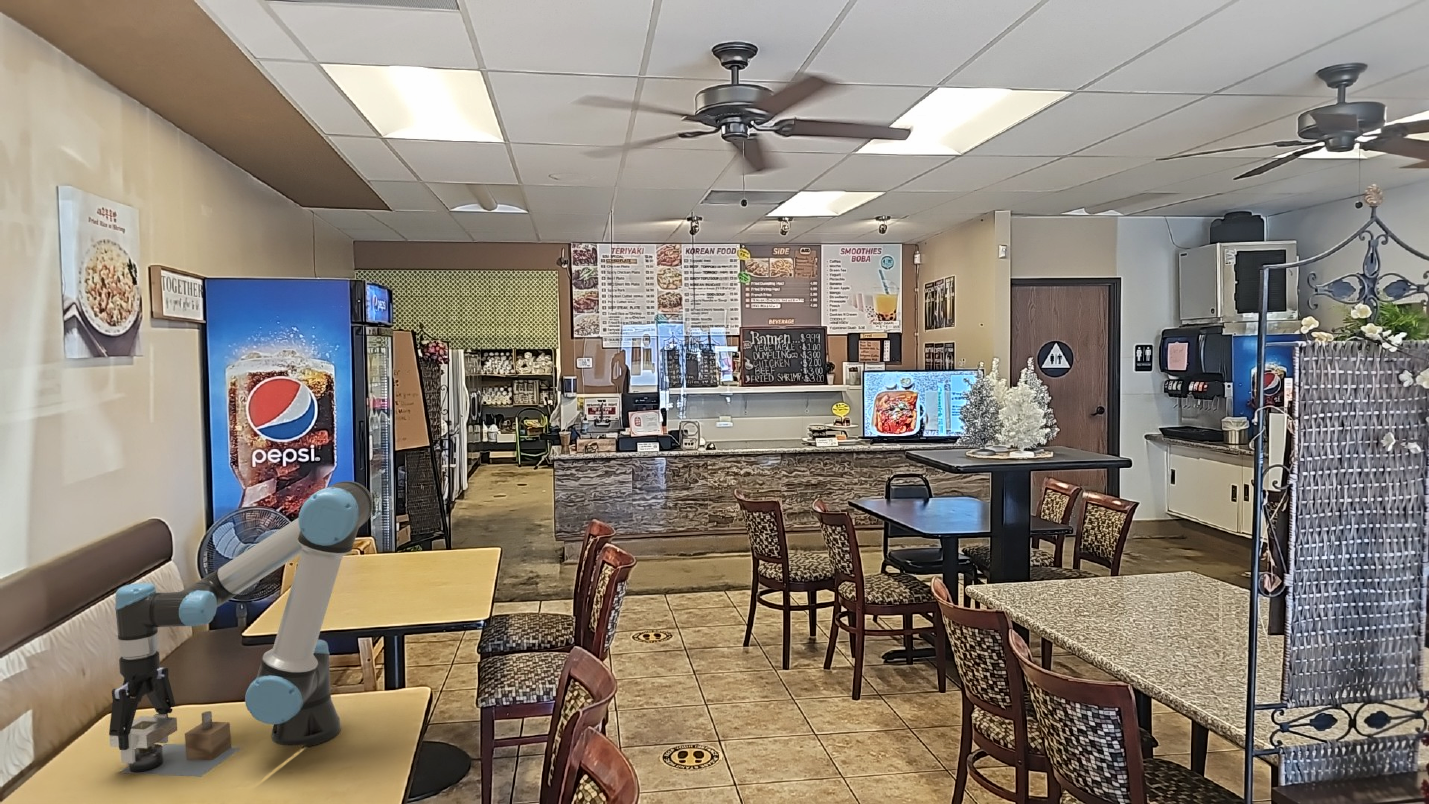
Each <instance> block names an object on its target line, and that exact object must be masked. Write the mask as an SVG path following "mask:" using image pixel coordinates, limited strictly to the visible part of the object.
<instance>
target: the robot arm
mask: <svg viewBox="0 0 1429 804" xmlns="http://www.w3.org/2000/svg"><path fill="white" fill-rule="evenodd" d="M373 502H374V501H373V497H372V495H371V493H370V491H369V490H368V489H367V488H366V487H365V485H363V484H361V483H359V482H357V481H352V480H343V481H339V482H335V483H333V484H331V485H330V486H328V487H326V488H325V487H324V488H322V489H320V490H318V491H316V492H314V493H312V495H310V497H308V498H307V499H306V500H305V502H304V503H303V504H302V506H301V508H300V510H299V513H298V517H297V518H295V519H294V520H293V521H291V522H290V523H288V524H287V525H285V526H283V527H281V528H280V529H278V530H277V531H275V532H274V533H272V534H270V535H269V536H267V537H266V538H264V539H263V540H261V541H259V542H258V543H257V544H255V545H254V546H252V547H250V548H248V549H247V550H246V551H244V552H242V553H241V554H239V555H238V556H236V557H234V558H233V559H232V560H229V562H226V563H225V564H224V565H223V566H220V567H219V568H217V569H216V570H214V571H213V572H210V573H209V574H208V575H206V576H204V577H203V578H202V579H199V581H197V582H195V583H194V584H191V585H190V586H188V587H186V588H184V589H183V590H181V591H174V592H173V591H172V592H171V591H170V592H157V590H156V586H155V584H154V583H152V582H136V583H130V584H126V585H123V586H121V587H118V589H116V592H115V606H114V611H115V616H116V628H117V629H116V630H117V641H118V642H117V645H118V655H119V656H120V658H119V659H118V663H119V674H120V675H121V676H122V677H123V682H122V686H120V687H119V688H113V689H112V690H111V697H112V702H111V703H112V704H111V705H112V706H111V712H110V713H111V714H110V721H109V729H108V730H109V731H108V736H109V735H110V736H118V742H119V747H118V749H119V751H120V759H121V761H120V763H121V764H129V763H134V762H135V749H136V748H134V733H130V731H131V727H132V724H133V720H135V715H136V713H137V712H136V711H137V709H138V705H139V703H140V702H142V699H143V697H144V696H145V695H146V696H147V698H148V700H149V701H150V703H151V705H152V707H153V709H154V710H155V712H156V713H155V714H153V717H169V714H172V713H173V708H174V707H175V706H176V702H175V698H174V695H173V691H172V690H173V689H172V686H171V683H170V680H169V667H161V660H160V652H159V651H158V650H159V649H160V641H159V631H158V629H159V628H174V627H196V626H203V625H204V626H205V625H208V624H210V623H211V622H212V621H213V620H214V617H215V616H216V613H217V608H218V607H220V606H222V605H224V604H225V603H227V602H228V601H230V599H232V598H234V597H236V596H237V595H238V594H240V593H242V592H243V591H245V590H246V589H248V588H250V587H251V586H252V585H254V584H256V583H257V582H259V581H260V580H262V579H263V578H265V577H266V576H268V575H270V574H271V573H273V572H275V571H276V570H278V569H280V568H281V567H283V566H284V565H286V564H287V563H289V562H291V561H292V560H293V559H295V558H297V557H298V556H300V557H299V560H298V563H297V565H296V570H295V572H294V577H293V579H292V583H291V586H290V590H289V593H288V596H287V599H286V604H285V605H284V610H283V613H282V616H281V621H280V624H279V627H278V630H277V632H276V633H277V634H276V637H275V640H274V644H273V647H272V648H271V649H270V650H267V651H266V652H264V653H263V655H262V658H261V662H260V664H259V665H260V666H259V668H258V672H257V675H256V678H255V679H254V680H253V681H251V683H249V686H248V688H247V690H246V692H245V697H244V702H245V706H246V710H247V711H248V712H249V713H250V714H251V717H252V718H254V719H255V720H257V721H259V722H260V723H262V724H267V725H273V726H272V729H271V740H272V742H273V743H275V744H278V745H282V746H301V748H302V749H304V748H308V747H313V746H316V745H320V744H323V743H325V742H327V741H329V740H331V739H333V738H334V737H336V736H337V735H339V733H340V731H341V720H340V717H339V715H338V713H337V710H336V708H335V705H334V703H333V700H332V693H331V691H332V690H331V689H332V688H331V673H330V672H331V671H330V668H331V667H330V654H331V653H330V652H329V645H328V642H327V641H326V640H324V639H320V638H319V636H320V633H321V630H322V626H323V624H324V619H325V616H326V613H327V610H328V607H329V602H330V600H331V597H332V593H333V589H334V587H335V583H336V579H337V577H338V574H339V573H338V572H339V570H340V567H341V562H342V560H343V558H344V557H346V555H348V554H350V553H352V550H353V547H354V544H355V542H356V541H355V540H356V537H357V534H358V531H359V528H361V527H362V526H363V525H364V524H365V523H366V522H367V521H368V520H369V518H370V517H371V515H372V512H373V508H374V503H373ZM124 728H125V729H124ZM168 743H169V736H167V737H165V738H164V739H162V740H160V741H159V742H157V743H156V744H168Z"/></svg>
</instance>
